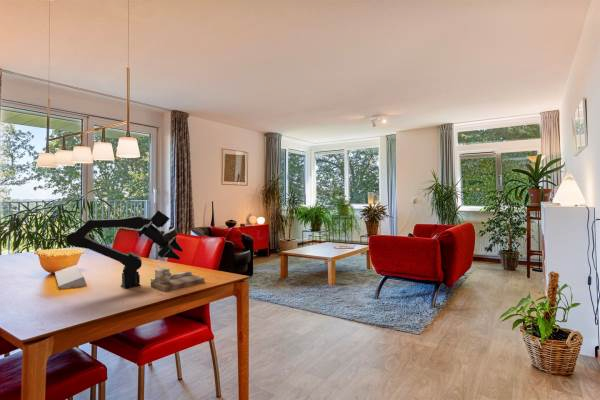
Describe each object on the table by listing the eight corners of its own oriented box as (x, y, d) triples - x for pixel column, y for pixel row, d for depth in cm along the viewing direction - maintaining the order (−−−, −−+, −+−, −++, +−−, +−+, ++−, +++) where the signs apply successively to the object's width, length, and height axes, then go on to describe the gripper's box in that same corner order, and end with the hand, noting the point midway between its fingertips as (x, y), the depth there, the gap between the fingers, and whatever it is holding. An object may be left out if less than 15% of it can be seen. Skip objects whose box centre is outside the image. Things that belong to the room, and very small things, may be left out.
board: (164, 291, 146) (164, 283, 146) (150, 286, 155) (150, 278, 155) (204, 282, 161) (204, 275, 161) (189, 277, 170) (189, 271, 170)
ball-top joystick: (164, 286, 148) (164, 272, 148) (155, 282, 154) (154, 269, 154) (175, 283, 152) (175, 270, 151) (165, 280, 158) (165, 267, 158)
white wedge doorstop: (62, 295, 151) (87, 286, 157) (58, 286, 150) (83, 276, 156) (57, 280, 178) (79, 272, 184) (54, 272, 177) (76, 264, 183)
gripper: (163, 230, 150) (190, 251, 155) (169, 217, 168) (194, 236, 173) (146, 247, 151) (174, 267, 156) (154, 232, 168) (179, 251, 173)
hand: (181, 254), depth 164 cm, fingers open, 9 cm apart
